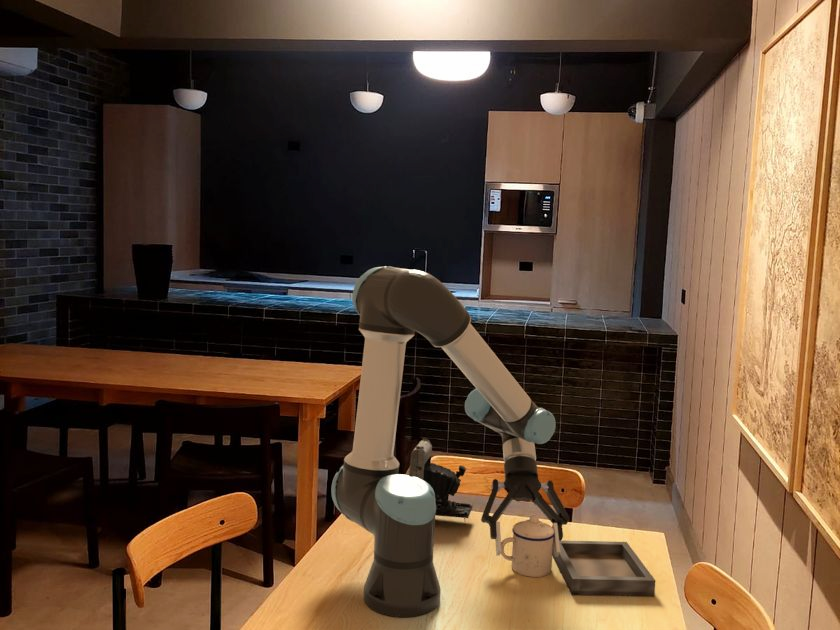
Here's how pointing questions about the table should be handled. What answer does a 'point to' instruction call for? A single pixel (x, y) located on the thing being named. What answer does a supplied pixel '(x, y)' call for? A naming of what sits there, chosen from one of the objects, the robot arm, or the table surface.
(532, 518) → the teacup with lid
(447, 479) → the vintage camera
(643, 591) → the tray
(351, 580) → the table surface
